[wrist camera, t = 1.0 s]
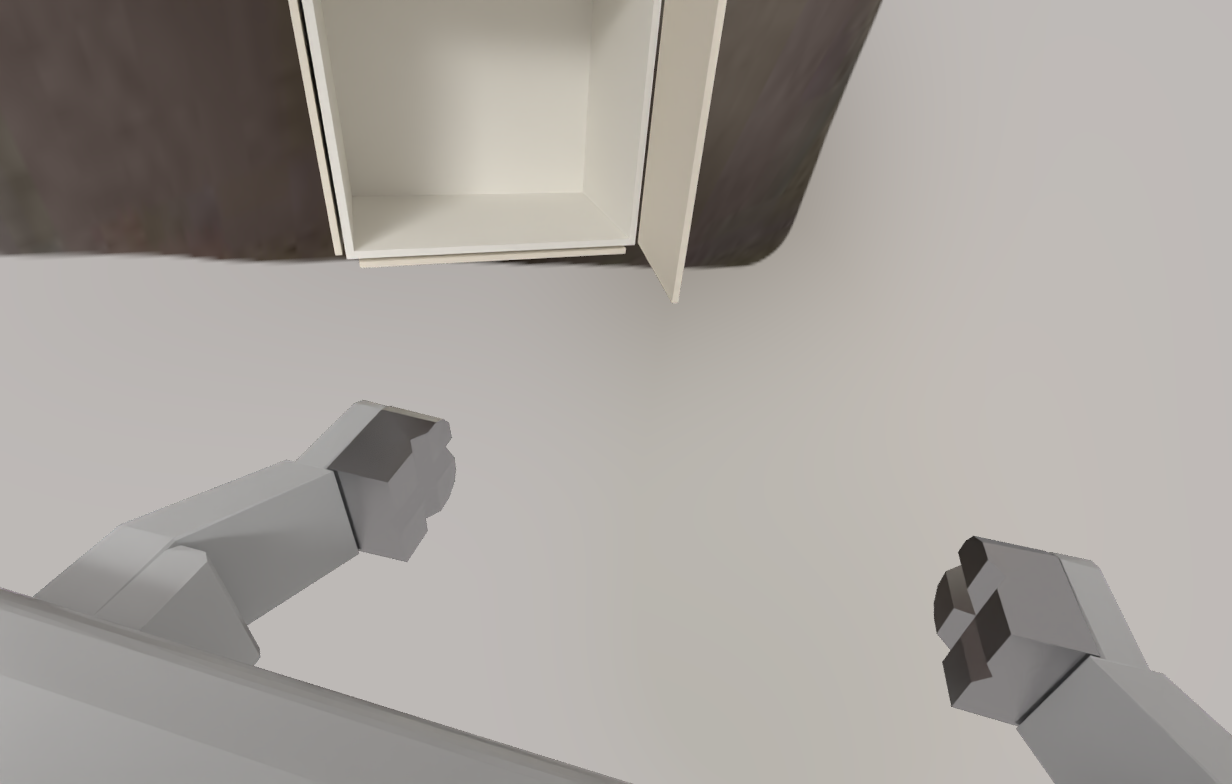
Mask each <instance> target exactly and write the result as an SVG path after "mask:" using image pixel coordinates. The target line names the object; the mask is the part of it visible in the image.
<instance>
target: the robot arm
mask: <svg viewBox="0 0 1232 784" xmlns="http://www.w3.org/2000/svg"><path fill="white" fill-rule="evenodd" d="M451 438H452V437H451V431H450V426H449V423H448V422H447V421H445V420H444V419H440V418H437V417H433V416H429V415H424V414H420V413H416V412H412V411H408V410H404V409H400V408H396V407H392V406H385V405H381V404H377V403H373V402H369V401H366V400H362V401H360V402H356V403H354V404H353V405H352V406H351V407H350V408H349V409H348V410H347V411H346V412H345V413H344V414H343V415H342V416H341V417H340V418H339V419H338V420H337V421H336V422H335V423H334V424H333V425H331V426H330V427H329V428H328V429H327V430H326V431H325V432H324V434H322V435H321V436H320V438H318V439H317V440H316V441H315V442H314V443H313V444H312V445H311V446H310V447H309V448H308V449H307V450H306V451H305V452H304V453H303V454H302V455H301V456H300V457H299V458H298V459H297V460H296V461H290V460H284V461H282V462H279V463H277V464H274V465H272V466H269V467H266V468H264V469H261V470H259V471H256V472H254V473H251V474H248V475H246V476H243V477H241V478H238V479H236V480H233V481H231V482H228V483H225V484H223V485H220V486H218V487H215V488H213V489H210V490H208V491H205V492H202V493H200V494H197V495H195V496H192V497H190V498H187V499H184V500H182V501H179V502H177V503H174V504H172V505H169V506H167V507H164V508H161V509H159V510H156V511H154V512H151V513H149V514H146V515H144V516H141V517H139V518H136V519H133V520H131V521H128V522H126V523H123V524H121V525H119V526H118V527H116V528H115V529H114V530H113V531H112V532H110V533H109V534H108V535H107V536H105V537H104V538H103V539H102V540H101V541H99V542H98V543H97V544H96V545H95V546H93V547H92V548H91V549H90V550H89V551H87V552H86V553H85V554H84V555H83V556H81V557H80V558H79V559H78V560H76V561H75V562H74V563H73V564H72V565H70V566H69V567H68V568H67V569H66V570H64V571H63V572H62V573H61V574H60V575H58V576H57V577H56V578H55V579H54V580H52V581H51V582H50V583H49V584H48V585H46V586H45V587H44V588H43V589H41V590H40V591H39V592H38V593H37V594H35V595H34V596H33V597H30V596H27V595H23V594H20V593H17V592H14V591H10V590H7V589H4V588H1V587H0V784H632V783H628V782H625V781H622V780H619V779H616V778H612V777H609V776H606V775H603V774H600V773H596V772H593V771H590V770H586V769H583V768H580V767H577V766H574V765H571V764H567V763H564V762H561V761H558V760H555V759H551V758H548V757H545V756H542V755H538V754H535V753H532V752H529V751H526V750H522V749H519V748H516V747H513V746H510V745H506V744H503V743H500V742H497V741H493V740H490V739H487V738H484V737H481V736H477V735H474V734H471V733H468V732H464V731H461V730H458V729H455V728H452V727H448V726H445V725H442V724H439V723H436V722H432V721H429V720H426V719H422V718H419V717H416V716H413V715H410V714H407V713H403V712H400V711H397V710H394V709H390V708H387V707H384V706H380V705H377V704H374V703H371V702H368V701H365V700H362V699H358V698H355V697H352V696H349V695H345V694H342V693H339V692H336V691H333V690H329V689H326V688H323V687H320V686H316V685H313V684H310V683H307V682H304V681H300V680H297V679H294V678H291V677H287V676H284V675H281V674H277V673H274V672H271V671H268V670H265V669H262V668H259V667H255V666H254V665H255V664H256V662H257V661H258V660H259V658H260V649H259V646H258V645H257V643H256V641H255V639H254V637H253V636H252V634H251V632H250V630H249V628H248V627H247V625H248V624H250V623H251V622H253V621H255V620H256V619H258V618H259V617H261V616H262V615H264V614H266V613H267V612H269V611H270V610H272V609H273V608H275V607H277V606H278V605H280V604H281V603H283V602H284V601H286V600H287V599H289V598H291V597H292V596H294V595H295V594H297V593H298V592H300V591H302V590H303V589H305V588H306V587H308V586H309V585H311V584H312V583H314V582H316V581H317V580H318V579H320V578H322V577H323V576H325V575H326V574H328V573H330V572H331V571H333V570H334V569H336V568H337V567H339V566H340V565H342V564H344V563H345V562H347V561H348V560H350V559H352V558H353V557H355V556H356V555H358V554H359V551H362V552H367V553H371V554H375V555H380V556H384V557H388V558H392V559H396V560H401V561H405V562H407V561H408V560H409V558H410V557H411V555H412V554H413V552H414V551H415V549H416V548H417V546H418V545H419V543H420V542H421V540H422V539H423V537H424V536H425V534H426V533H427V531H428V530H427V523H426V518H428V517H430V516H432V515H434V514H435V513H437V512H439V511H441V510H442V508H443V507H444V505H445V503H446V502H447V500H448V499H449V496H450V494H451V490H452V488H453V485H454V482H455V473H456V467H455V458H454V457H453V455H452V454H451V453H450V452H449V450H448V449H447V448H446V445H447V444H448V442H449V441H450V440H451ZM958 554H959V557H960V562H961V565H960V566H958V567H955V568H953V569H950V570H948V571H946V572H945V574H944V575H943V577H942V579H941V581H940V583H939V584H938V586H937V592H936V595H935V600H934V621H935V626H936V632H937V634H938V636H939V637H940V638H941V639H942V640H943V642H944V643H945V644H946V645H947V646H948V648H949V649H950V650H951V651H950V652H949V653H948V655H947V656H946V658H945V659H944V660H943V662H942V663H943V668H944V673H945V678H946V683H947V687H948V693H949V697H950V702H951V707H954V708H957V709H961V710H964V711H968V712H971V713H974V714H978V715H982V716H985V717H988V718H992V719H995V720H998V721H1002V722H1005V723H1009V724H1012V725H1016V726H1018V727H1017V731H1018V732H1019V734H1020V735H1021V736H1022V738H1023V739H1024V741H1025V742H1026V744H1027V745H1028V746H1029V748H1030V749H1031V750H1032V752H1033V753H1034V755H1035V756H1036V758H1037V759H1038V760H1039V762H1040V763H1041V765H1042V766H1043V768H1044V769H1045V770H1046V772H1047V773H1048V775H1049V776H1050V777H1051V779H1052V780H1053V782H1054V783H1055V784H1232V735H1231V734H1230V733H1229V732H1227V731H1226V730H1225V729H1224V728H1223V727H1222V726H1221V725H1220V724H1219V723H1217V722H1216V721H1215V720H1214V719H1213V718H1212V717H1211V716H1210V715H1209V714H1207V713H1206V712H1205V711H1204V710H1203V709H1202V708H1201V707H1200V706H1199V705H1197V704H1196V703H1195V702H1194V701H1193V700H1192V699H1191V698H1190V697H1189V696H1188V695H1186V694H1185V693H1184V692H1183V691H1182V690H1181V689H1180V688H1179V687H1177V686H1176V685H1175V684H1174V683H1173V682H1172V681H1171V680H1170V679H1169V678H1168V677H1166V676H1165V675H1164V674H1162V673H1158V672H1155V671H1151V670H1150V669H1149V667H1148V665H1147V663H1146V661H1145V659H1144V657H1143V655H1142V653H1141V651H1140V649H1139V647H1138V645H1137V643H1136V641H1135V639H1134V637H1133V635H1132V632H1131V631H1130V628H1129V626H1128V624H1127V622H1126V620H1125V618H1124V616H1123V614H1122V612H1121V610H1120V608H1119V606H1118V604H1117V602H1116V600H1115V598H1114V596H1113V594H1112V592H1111V590H1110V588H1109V586H1108V584H1107V582H1106V579H1105V578H1104V575H1103V573H1102V571H1101V570H1100V568H1099V567H1098V566H1097V565H1096V564H1095V563H1094V562H1092V561H1091V560H1086V559H1082V558H1077V557H1072V556H1068V555H1063V554H1058V553H1053V552H1049V553H1048V552H1046V551H1043V550H1038V549H1033V548H1028V547H1023V546H1019V545H1014V544H1010V543H1005V542H999V541H996V540H991V539H986V538H981V537H977V536H973V537H971V538H969V539H968V540H966V541H965V543H964V544H963V546H962V547H961V549H960V550H959V552H958Z"/></svg>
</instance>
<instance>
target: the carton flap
mask: <svg viewBox="0 0 1232 784" xmlns="http://www.w3.org/2000/svg"><path fill="white" fill-rule="evenodd" d="M726 3H727V0H665V4H664V12H663V21H662V30H661V39H660V48H659V57H658V66H657V75H656V84H655V93H654V102H653V111H652V120H651V129H650V138H649V147H648V155H647V164H646V173H645V182H644V191H643V200H642V209H641V218H640V227H639V236H638V244H639V246H640V248H641V249H642V251H643V253H644V255H645V256H646V258H647V260H648V262H649V264H650V265H651V267H652V269H653V271H654V272H655V274H656V276H657V278H658V279H659V281H660V283H661V285H662V286H663V288H664V290H665V292H666V293H667V295H668V297H669V299H670V301H671V302H672V303H678V301H679V295H680V289H681V282H682V276H683V270H684V264H685V258H686V252H687V245H688V239H689V233H690V227H691V220H692V214H693V208H694V202H695V196H696V189H697V183H698V177H699V171H700V165H701V158H702V152H703V146H704V140H705V133H706V127H707V121H708V115H709V109H710V102H711V96H712V90H713V84H714V78H715V71H716V65H717V59H718V53H719V46H720V40H721V34H722V28H723V22H724V15H725V9H726Z"/></svg>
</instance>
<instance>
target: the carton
mask: <svg viewBox="0 0 1232 784" xmlns="http://www.w3.org/2000/svg"><path fill="white" fill-rule="evenodd" d="M661 1H662V0H288V2H289V8H290V13H291V18H292V24H293V29H294V35H295V40H296V45H297V51H298V56H299V62H300V67H301V72H302V78H303V83H304V89H305V94H306V99H307V105H308V110H309V115H310V121H311V126H312V132H313V137H314V142H315V148H316V153H317V159H318V164H319V169H320V175H321V180H322V186H323V191H324V196H325V202H326V207H327V213H328V218H329V223H330V229H331V234H332V240H333V245H334V250H335V255H342V234H343V239H344V245H345V251H346V257H347V259H359V263H360V268H371V267H387V266H388V267H390V266H408V265H426V264H444V263H463V262H481V261H499V260H518V259H536V258H554V257H573V256H591V255H609V254H625V252H626V248H625V247H624V246H623V245H635V239H636V230H637V221H638V212H639V202H640V193H641V184H642V175H643V166H644V157H645V148H646V138H647V129H648V120H649V111H650V102H651V93H652V83H653V74H654V65H655V56H656V47H657V38H658V29H659V19H660V10H661Z"/></svg>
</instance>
